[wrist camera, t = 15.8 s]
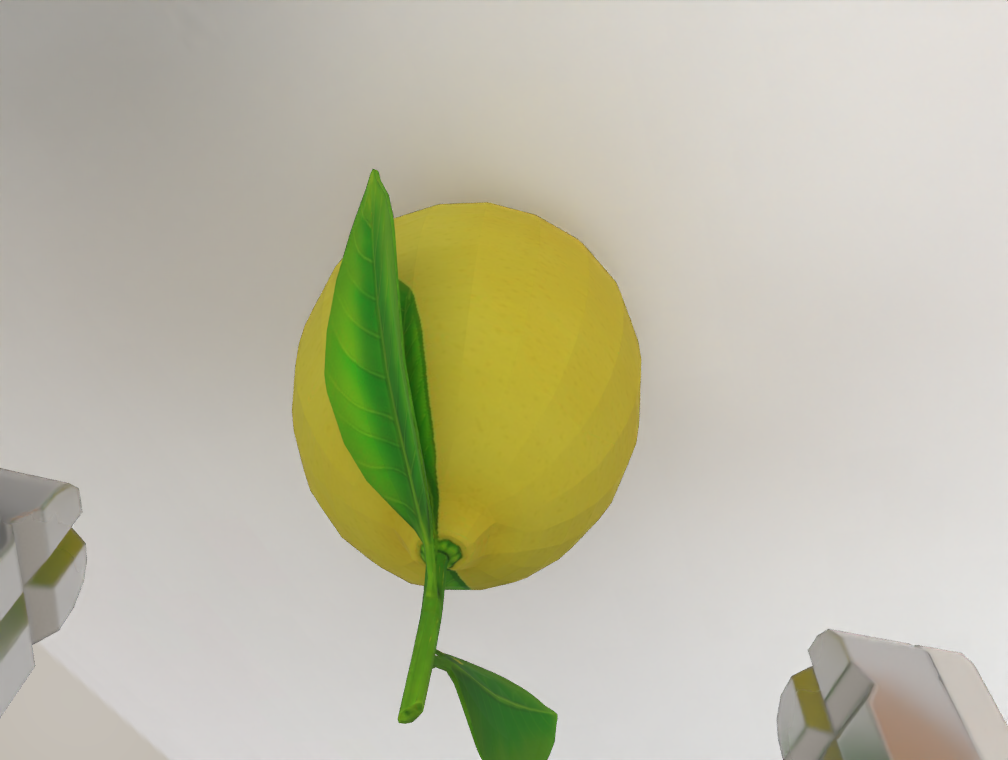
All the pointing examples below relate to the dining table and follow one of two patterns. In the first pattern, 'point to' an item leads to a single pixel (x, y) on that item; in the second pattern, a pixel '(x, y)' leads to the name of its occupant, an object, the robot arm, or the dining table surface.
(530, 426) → the lemon
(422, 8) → the dining table surface
